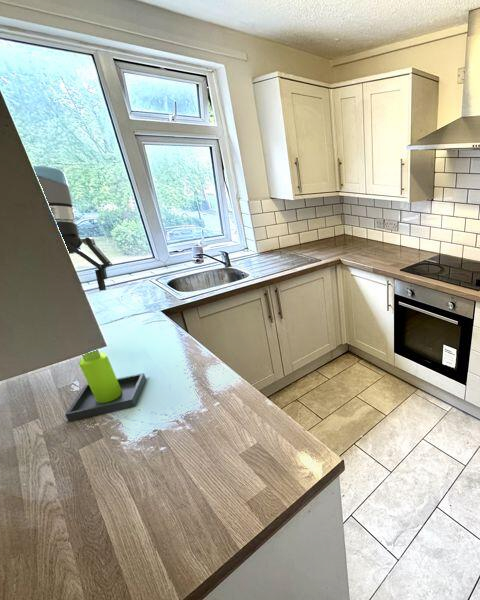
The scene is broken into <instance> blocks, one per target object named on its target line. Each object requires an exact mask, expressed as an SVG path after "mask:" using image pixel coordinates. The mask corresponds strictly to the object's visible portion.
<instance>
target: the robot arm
mask: <svg viewBox="0 0 480 600" xmlns="http://www.w3.org/2000/svg"><path fill="white" fill-rule="evenodd" d="M33 167H34V170H35V172H36V175H37V177H38V179H39V182H40V184H41V186H42V188H43V191H44V194H45V196H46V199H47V201H48V203H49V206H50V208H51V211H52V213H53V215H54V218H55V220H56V222H57V225H58V227H59V230H60V232H61V234H62V237H63V239H64V241H65V244H66V246H67V249H68V251H69V255H71V254H72V255H74V254H76V255H78V256H79V257H81V258H83V259H84V260H86V261H87V262H88V263H89V264H91V265H93V266H94V267H95V268H97V269H94V271H95V276H96V282H97V287H98V291H99V292H102V291H107V288H106V282H105V280H108V275H107V269H108V268H110V267H112V266H113V263H112V261H110V259H108V257H107V256H106V255H105V253H104V252H103V251H101V249H100V248H99V247H98V246H97V245H96V242H95V239H94V238H93V237H87V236H86V237H85V238H81V237H80V233H79V227H78V224H77V223H75V222H76V221H77V219H76V215H75V210H74V206H73V201H72V196H71V191H70V185H69V183H68V180H67V176H66V174H65V172H64V171H63V170H61V169H60V168H56V167H52V166H45V165H36V166H33ZM83 244H84V245H85V246H87V247H88V248H89V250H90V251H92V253H93V254H94V255H95V257H96V258H97V259H96V258H95V257H93V256H92V255H91V254H90V253H88V252H86V250H84V249H83V248H82V247H81V246H82V245H83Z"/></svg>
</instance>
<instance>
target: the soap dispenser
mask: <svg viewBox="0 0 480 600" xmlns="http://www.w3.org/2000/svg"><path fill="white" fill-rule="evenodd" d="M81 356H82V358H81V359H80V360H79V361H78V365H79V368H80V369H81V371H82V374H83V376H84V378H85V380H86V382H87V384H89V386H90V388H91V390H92V393H93V395H94V397H95V399H96V401H97V402H98V403H105V402H109V401H112V400H114V399H116V398H118V397H119V396H120V395H121V394H122V390H121V388H120V385H119V383H118V381H117V378H118V377H117V376H116V374H115V371H114V369H113V366H112V364H111V362H110V360H109V357H108V355H107V353H105V352H100V351H99V349H98V350H96V351H93V352H90V353H87V354H85V355H82V354H81Z"/></svg>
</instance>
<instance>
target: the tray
mask: <svg viewBox="0 0 480 600" xmlns="http://www.w3.org/2000/svg"><path fill="white" fill-rule="evenodd" d="M116 378H117V381H118V383H119V385H120V388H121V390H122V394H121V395H120V396H119V397H118V398H116V399H114V400H112V401H109V402H105V403H98V402H97V401H96V399H95V397H94V395H93V393H92V390H91V388H90V386H89V384H88V383H87V384H85V385H84V386H83V387H82V389H81V390H80V391H79V393H78V395H77V396H76V398H75V399H74V400H73V402H72V403H71V405H70V407H69V409H67V411H66V413H64V416H65V417H66V419H67V422H73V421H77V420H82V419H86V418H90V417H94V416H98V415H104V414H108V413H111V412H116V411H120V410H125V409H130V408H133V407H135V406H136V405H137V403H138V400H139V397H140V395H141V393H142V390H143V388H144V386H145V383H146V381H147V378H146V374H145V373H144V372H142V373H137V374H132V375H127V376H123V377H116Z"/></svg>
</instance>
